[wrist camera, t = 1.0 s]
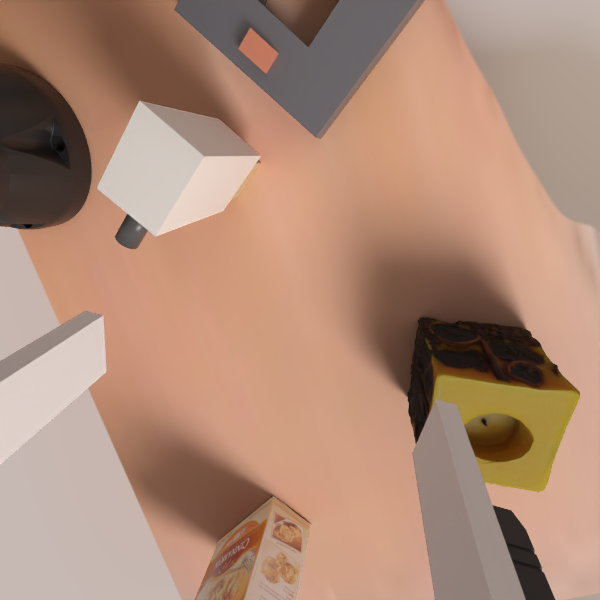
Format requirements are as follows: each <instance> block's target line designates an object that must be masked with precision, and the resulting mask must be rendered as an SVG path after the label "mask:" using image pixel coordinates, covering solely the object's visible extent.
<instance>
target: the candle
mask: <svg viewBox="0 0 600 600" xmlns="http://www.w3.org/2000/svg"><path fill="white" fill-rule="evenodd" d="M418 323H419V327H418V330H417V335H416V340H415V349H414V353H413V364H412V366H411V368H412V371H411V375H412V376H411V387H410V390H409V392H408V402H409V410H408V412H409V416H410V418H411V424H412V427H413V431H414V436H415V442H416V444H417V441H418V439H419V437H420V434H421V432H422V430H423V428H424V425H425V423H426V421H427V418H428V416H429V414H430V411H431V409H432V407H433V405H434V402H435V400H440V401H444V402H448V403H452V404H456V405H457V407H458V410H459V413H460V415H461V418H462V421H463V424H464V427H465V430H466V432H467V435H468V438H469V441H470V444H471V447H472V449H473V452H474V455H475V458H476V461H477V463H478V466H479V469H480V472H481V475H482V478H483V480H484V482H485V483H491V484H497V485H501V486H506V487H514V488H519V489H525V490H531V491H537V492H539V491H543V490H544V489H545V487H546V485H547V483H548V480H549V476H550V472H551V468H552V464H553V461H554V458H555V455H556V453H557V450H558V447H559V445H560V442H561V440H562V437H563V434H564V432H565V429H566V427H567V425H568V422H569V420H570V418H571V416H572V414H573V412H574V409H575V407H576V405H577V402H578V400H579V397H580V392H579V391H578V390H577V389H576V388H575V387H574V386H573V385H572V384H571V383H570V382H569V381H568V380H567V379H566V378H565V377H563V376H562V374H561V373H560V371H559V370H558V367H557V365H555V364H553V363H552V362H551V361H550V359H549V358H548V357H547V356H546V354H545V352H544V351H543V349H542V347H541V344H540V343H539V342H538V341H537V340H536V339H535V338H533V337H532V335H531V332H530V331H528V330H526V329H524V328H517V327H507V326H499V325H496V324H495V325H493V324H485V323H476V322H463V321H459V322H457V323H455V324H450V323H446V322H441V321H438V320H435V319H429V318H420V319H419V320H418Z"/></svg>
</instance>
